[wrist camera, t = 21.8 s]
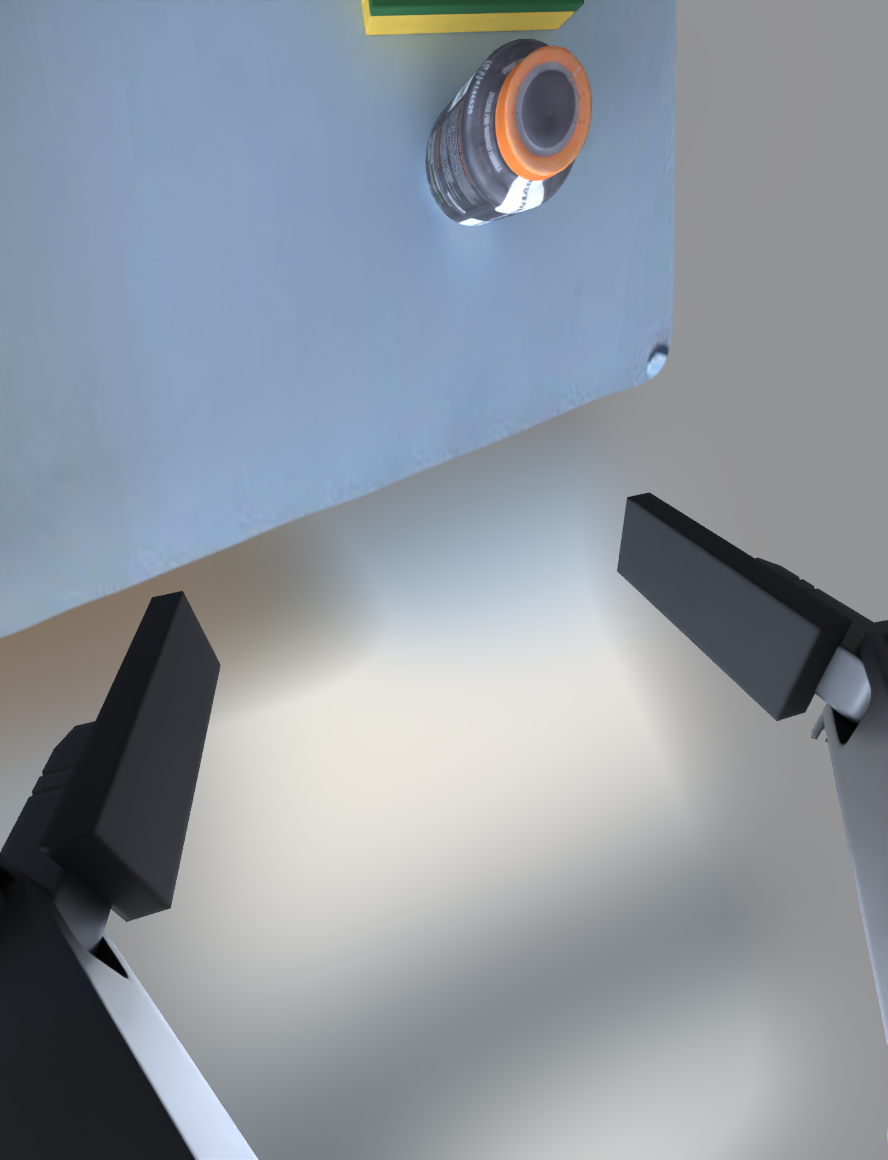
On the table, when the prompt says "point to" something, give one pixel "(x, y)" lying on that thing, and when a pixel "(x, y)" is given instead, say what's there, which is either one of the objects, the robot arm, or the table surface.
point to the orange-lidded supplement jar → (509, 133)
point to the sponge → (464, 15)
